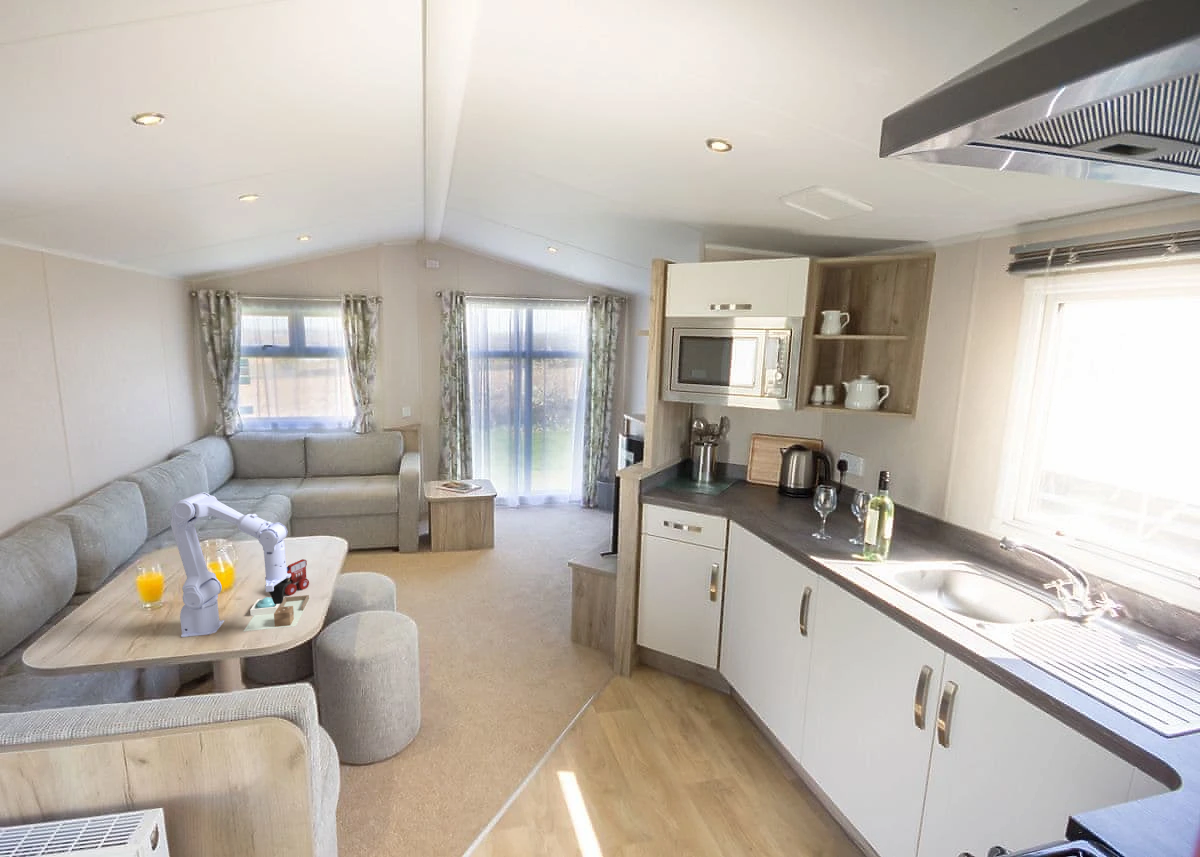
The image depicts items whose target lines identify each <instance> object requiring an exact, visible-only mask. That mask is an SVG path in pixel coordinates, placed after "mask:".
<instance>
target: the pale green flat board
mask: <svg viewBox="0 0 1200 857" xmlns="http://www.w3.org/2000/svg"><path fill="white" fill-rule="evenodd" d="M262 599H263V598H257V600H256V601H255V602H254V604H253V605H252V607H251V608H250V609H249V611H250V612H249V613H250V617H252V618H251V619H250V621H249V622H248V624H247V625H246V626H245V628H244V630H243V632H251V631H261V630H262V631H263V630H271V629H281V628H282V629H283V628H290V627H296V626H297V625H298V622H299V621H300V619H301V616H302V615H303V613H304V611H305V609H306V607H307V605H308V603H309V602H310V599H311V597H310V595H309V594H304V595H294V596H292V595H291V596H284V598H283V602H282V603H281V604H276V606H275V607H268V608H258V607H257V603H258V601H260V600H262ZM287 606H293V611H294V620H293V621H292V623H291V625H289V626H279V627H275V622H274V613H275V611H276V610H277V608H278V607H287Z"/></svg>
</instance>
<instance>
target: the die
mask: <svg viewBox="0 0 1200 857" xmlns="http://www.w3.org/2000/svg"><path fill="white" fill-rule="evenodd" d="M293 620H294V611H293V606H287V607H278V608H277V610H276V611H275V613H274V622H275V627H279V626H289V625H291V623H292V621H293Z"/></svg>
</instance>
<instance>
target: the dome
mask: <svg viewBox="0 0 1200 857" xmlns="http://www.w3.org/2000/svg"><path fill="white" fill-rule="evenodd" d="M261 599H262V600H260V601H258V603H257V607H258V608H268V607H275V606H276V604H274V602H273V600H272V597H271V596H270V597H268V596H266V597H264V598H261Z"/></svg>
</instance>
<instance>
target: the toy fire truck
mask: <svg viewBox="0 0 1200 857" xmlns="http://www.w3.org/2000/svg"><path fill="white" fill-rule="evenodd" d="M307 562H308V560H306V559H300V560H297V561H295V562H293V563H291V564H288V566H287V573H288V574H291V577H290V578H288V582H287V584H286V587H285V592H284V594H285V595H287V596H292V595H294V594H295V593H296V592H297V590H298V589H299V590H302V591H303V590H306V589H307V588H309V585H310V581H309V579H308V578H307V566H308V564H307Z"/></svg>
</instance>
